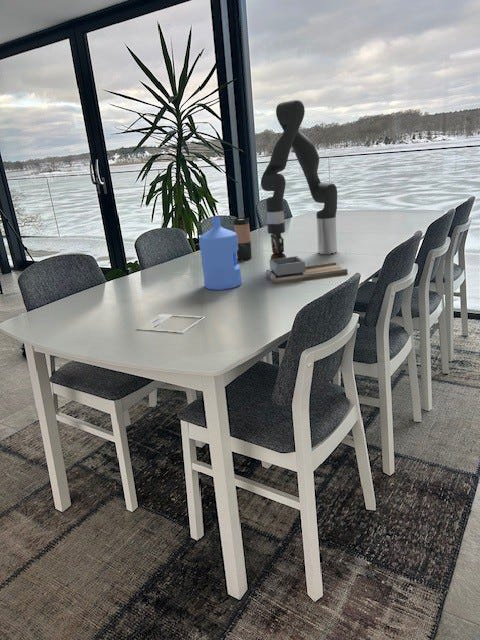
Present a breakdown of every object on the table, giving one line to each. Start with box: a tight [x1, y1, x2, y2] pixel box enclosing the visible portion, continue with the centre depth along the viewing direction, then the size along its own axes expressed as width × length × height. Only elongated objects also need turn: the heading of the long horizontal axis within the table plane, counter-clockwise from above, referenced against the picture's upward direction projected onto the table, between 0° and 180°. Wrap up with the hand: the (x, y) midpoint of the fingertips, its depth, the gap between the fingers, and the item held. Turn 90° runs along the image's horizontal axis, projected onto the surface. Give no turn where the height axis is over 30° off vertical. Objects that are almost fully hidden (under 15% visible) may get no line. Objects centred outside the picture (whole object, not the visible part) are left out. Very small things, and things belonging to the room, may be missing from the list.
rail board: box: [266, 261, 349, 285], centre depth 209 cm, size 14×31×3 cm, turn 100°
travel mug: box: [233, 217, 252, 261], centre depth 248 cm, size 8×8×20 cm
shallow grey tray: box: [269, 255, 306, 278], centre depth 207 cm, size 12×12×6 cm
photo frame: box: [147, 313, 206, 334], centre depth 167 cm, size 15×1×18 cm
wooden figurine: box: [270, 243, 287, 259], centre depth 220 cm, size 7×6×15 cm
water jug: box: [198, 216, 243, 291], centre depth 203 cm, size 16×16×28 cm
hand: (278, 259), depth 221 cm, fingers closed on wooden figurine, 6 cm apart
